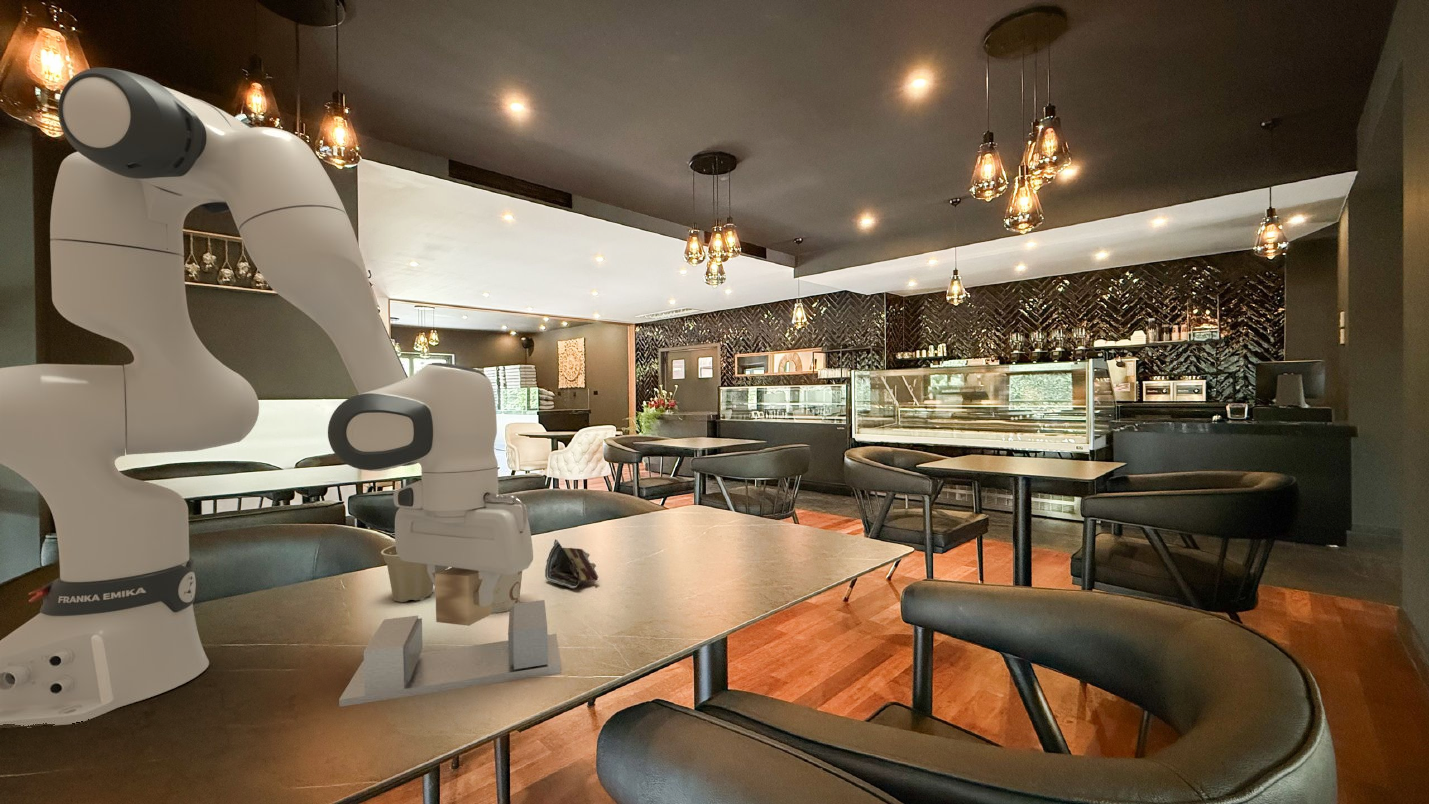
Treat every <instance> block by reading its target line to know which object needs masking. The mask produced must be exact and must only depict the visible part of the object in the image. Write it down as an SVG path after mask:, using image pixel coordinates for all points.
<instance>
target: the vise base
mask: <svg viewBox="0 0 1429 804" xmlns="http://www.w3.org/2000/svg"><path fill="white" fill-rule="evenodd" d="M547 638H548V664H546V665H540V666H533V667H527V668H520V669H514V665H510V666H509V652H508V640H503V641H495V642H488V643H487V642H486V643H482V644H481V643H480V644H473V645H467V646H459V647H453V648H452V647H451V648H445V649H440V650H439V649H438V650H431V651H424V652H422V651H423V649H424V648H423V618H422V617H421V618H419V615H410V616H409V615H408V616H402V617H395V618H386V619H383V621H382V622H381V624H380V625H379V627H378V628H377V629H376V632H375V633H374V634H373V636H372V637H371V640H370V641H369V643H368V644H367V646H366V647H365V649H364V650H363V661H362V662H361V663H360V665H359V666H358V668H357V670H356V671H355V673H354V675H353V676H352V678H351V680H350V681H349V683H348V685H347V686H346V688H345V689H344V691H343V692H342V694H341V696H340V697H339V698H338V704H339V705H338V707H345V706H347V707H348V706H354V705H361V704H368V703H374V702H380V701H387V700H393V699H399V698H406V697H412V696H420V695H425V694H426V695H427V694H431V693H440V692H444V691H445V692H446V691H451V690H458V689H465V688H466V689H467V688H472V687H478V686H479V687H480V686H485V685H492V684H498V683H505V682H511V681H519V680H525V679H532V678H537V677H538V678H539V677H545V676H550V675H551V676H553V675H557V674H561V668H562V667H561V665H562V664H561V659H560V652H559V651H560V650H559V645H558V638H557V633H552V634H547Z"/></svg>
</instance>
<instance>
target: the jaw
mask: <svg viewBox="0 0 1429 804" xmlns="http://www.w3.org/2000/svg"><path fill="white" fill-rule="evenodd" d="M545 603H546V601H545V599H540V600H531V601H526V602H519V603H516V604H514V607H510V610H509V614H508V615H509V616H508V627H507V628H508V631H507V639H508V640H507V641H508V652H509V666H510V665H514V669H520V668H527V667H533V666H540V665H546V664H548V638H547V635H548V620H547V611H546V610H547V609H546V604H545Z"/></svg>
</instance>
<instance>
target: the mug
mask: <svg viewBox="0 0 1429 804" xmlns="http://www.w3.org/2000/svg"><path fill="white" fill-rule="evenodd" d="M522 579H523V571H520V572H517V573H515V574H511V575H507V574H500V577H499V579H498V581H497V583H496V585H495V587H494V589H493V602H492V603H491V612H492V614H498V613H500V614H501V613H505V612H508V611H509V612H510V607H514V604H516V603H520V598H521V589H522Z"/></svg>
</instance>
